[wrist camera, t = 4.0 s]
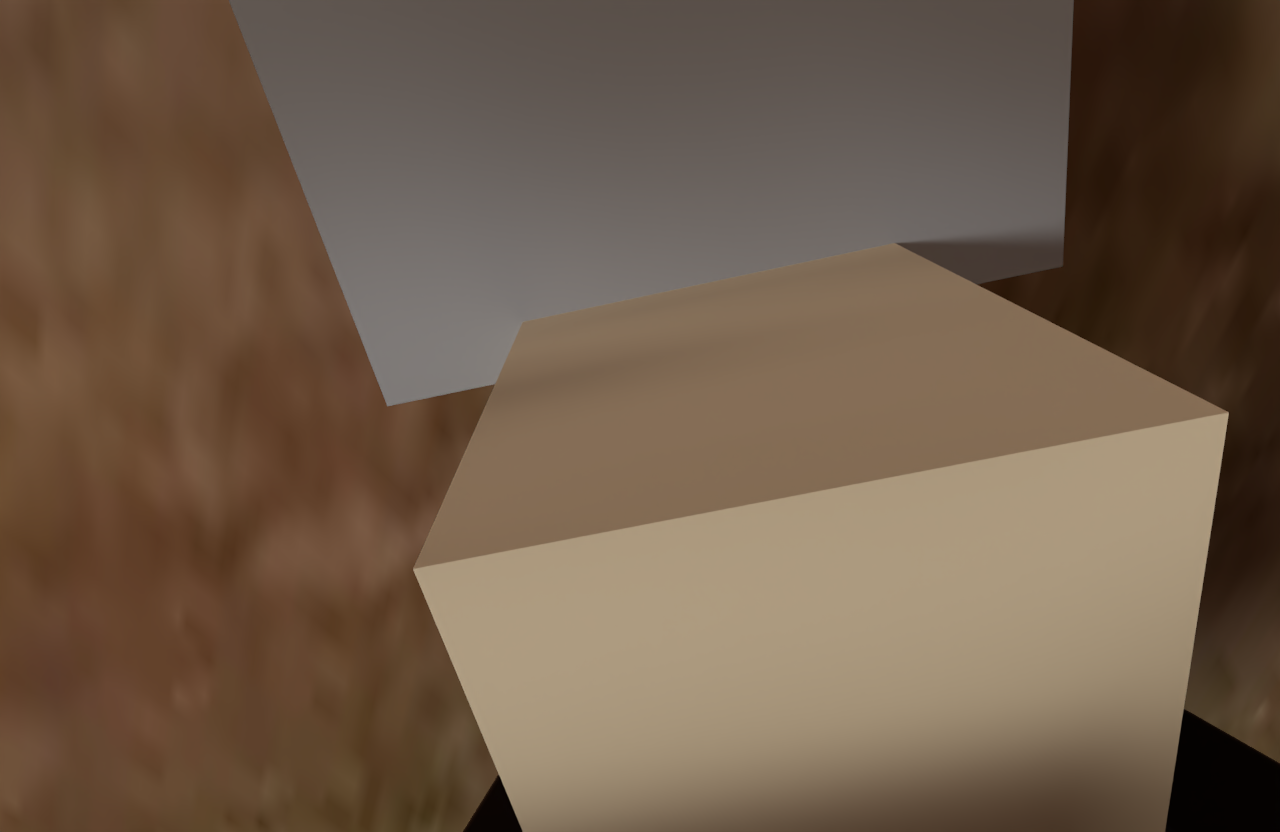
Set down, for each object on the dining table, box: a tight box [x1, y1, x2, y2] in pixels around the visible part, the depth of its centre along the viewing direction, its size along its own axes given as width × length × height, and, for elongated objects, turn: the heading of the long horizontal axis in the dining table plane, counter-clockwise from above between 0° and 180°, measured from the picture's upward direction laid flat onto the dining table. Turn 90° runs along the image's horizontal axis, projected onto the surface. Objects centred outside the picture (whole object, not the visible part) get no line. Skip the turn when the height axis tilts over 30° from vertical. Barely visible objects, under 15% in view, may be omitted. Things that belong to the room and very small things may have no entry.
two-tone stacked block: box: [229, 0, 1229, 832], centre depth 5 cm, size 11×6×4 cm, turn 12°
